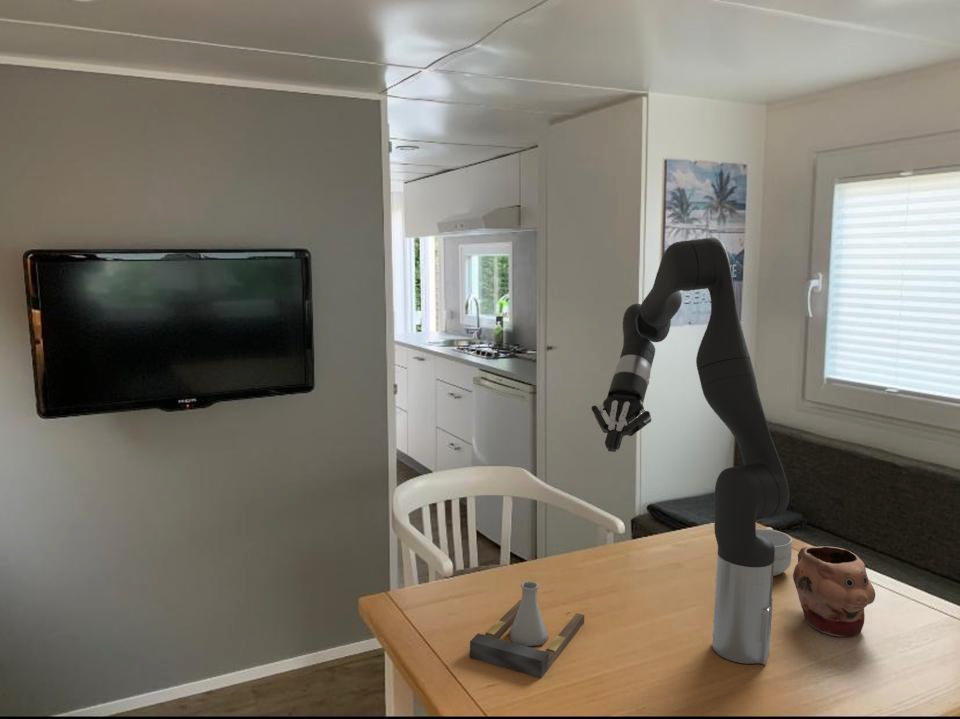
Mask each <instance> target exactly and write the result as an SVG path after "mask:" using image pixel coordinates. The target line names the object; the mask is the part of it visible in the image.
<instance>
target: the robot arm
mask: <svg viewBox="0 0 960 719" xmlns="http://www.w3.org/2000/svg"><path fill="white" fill-rule="evenodd" d="M705 289H707V290H708V291H709V292H708V293H709V296H710V308H711V309H710V315H709V320H708V324H707V326H706V328H705V331H704V334H703V336H702V339H701V341H700V344H699V347H698V349H697V355H696V361H695V362H696V363H695V365H696V369H697V373H698V376H699V382H700V386H701V390H702V394H703V397H704V398H705V400H706V402H707V403H708V405H709V406H710V408H711V409H712V410H713V412H714V414H716V415H717V416H718V418H719V419H720V420H721V421H722V423H723V424H724V425H725V426H726V427H727V428H728V430H729V431H730V432H731V433H732V435H733V437H734V439H735V441H736V443H737V446H738V448H739V451H740V454H741V458H742V462H743V465H738V466H731V467H728V468H724V469H723V470H722V471H721V472H720V473H719V474H718V477H717V479H716V482H715V487H714V526H713V528H714V535H715V540H716V544H717V555H716V556H717V558H716V572H715V573H716V575H715V576H716V577H715V590H714V591H715V592H714V593H715V594H714V609H713V625H712V626H713V628H712V649H713V651H714V652H716V654H717V655H719V656H720V657H722V658H724V659H726V660H728V661H731V662H734V663H735V662H736V663H740V664H745V665H746V664H748V665H749V664H750V665H751V664H760V665H761V664H762V665H766V664H767V661H768V657H769V653H770V649H771V646H770V645H771V634H772V633H771V631H772V618H773V605H774V604H773V601H774V598H773V582H774V576H773V571H774V557H775V548H774V545H773V543H772V542H771V541H770V540H768V539H766V538H764V537H762V536H760V535H757V534H756V529H757V528H756V527H757V525H756V520H757V521H758V520H762V519H770V518H775V517H778V516H780V515H782V514H784V513H785V512H786V510H787V509H788V506H789V504H790V503H789V502H790V488H789V484H788V479H787V475H786V473H785V470H784V467H783V464H782V462H781V460H780V457H779V454H778V452H777V448H776V446H775V444H774V440H773V437H772V434H771V432H770V429H769V425H768V421H767V418H766V415H765V411H764V408H763V405H762V404H763V403H762V401H761V398H760V392H759V389H758V384H757V381H756V375H755V372H754V367H753V364H752V359H751V356H750V352H749V349H748V346H747V343H746V339H745V335H744V330H743V326H742V322H741V319H740V318H741V317H740V314H739V310H738V305H737V304H738V303H737V299H736V292H735V286H734V280H733V274H732V267H731V263H730V259H729V255H728V252H727V249H726V246H725V244H724V243H723V241H722V240H721V239H719V238H716V237H706V238H698V239H690V240H681V241H675V242H673V243H671V244H670V245H669V246H668V247H667V248H666V250H665V251H664V253H663V256H662V257H661V260H660V263H659V267H658V269H657V273H656V276H655V279H654V281H653V286H652V288H651V290H650V291H649V292H648V294H647V295H646V296H645V298H644V299H643V301H642V303H633V304H631V305H629V306H628V308H626V310H625V311H624V313H623V316H622V318H623V319H622V333H623V345H622V350H621V353H620V357H619V359H618V362H617V364H616V367H615V369H614V373H613V376H612V379H611V382H610V386H609V388H608V389H609V390H608V393H607V397H606V399H604V400H603V403H602V404H601V405H599V406H597V405H592V406H591V412H592V414H593V417H594V419H595V420H596V421H597V423H598V426H599V428H600V430H601V431H602V433H604V434H606V437H605V441H604V445H605V448H606V449H607V451H608V452H612V453H616V452H617V450H618V451H619V450H620V448H621V444H622V441H623V438H624V437H625V436H628V437H632V436H633V435H635V434H636V433H638V431H640V430H642V429H643V428H644V427H646V426H647V425H648V424H649V423H651V422H652V416H651V415H652V414H651V413H650V411H649V410H645V408H644V401H645V398H646V394H647V390H648V387H649V384H650V378H651V370H652V367H653V366H652V365H653V362H654V358H655V354H656V347H655V345H654V343H660V342H663V341H664V340H665V339H666V338H667V337H668V335H669V333H670V329H671V324H672V319H673V317H674V316H675V315H676V314H677V313H678V312H679V310H680V308H681V306H682V302H683V300H682V299H683V297H682V292H681V291H684V292H688V291H689V292H690V291H696V290H698V291H699V290H705ZM605 412H606V415H607V416H608V419H609V422H608V423H607V422H606V420H605V418H604V415H605Z"/></svg>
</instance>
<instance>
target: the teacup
mask: <svg viewBox="0 0 960 719" xmlns="http://www.w3.org/2000/svg"><path fill="white" fill-rule="evenodd" d="M756 534H757V535H760V536H762V537H764V538H766V539H768V540H770V541H771V542H772V543H773V545H774V548H775V557H774V571H773V577H775V576H778V575H781V574H782V573H784V572H785V571H786V570H788V569H789V567H790V566H791V563H792V553H793V552H792V550H793V549H792V546H793V545H792V544H793V538H792V536H790V535H789V534H787V533H784V532H783V531H779V530H773V528H772V527H769V526H768V527H767V526H766V527H765V528H756Z"/></svg>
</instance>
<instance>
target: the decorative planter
mask: <svg viewBox="0 0 960 719" xmlns="http://www.w3.org/2000/svg"><path fill="white" fill-rule="evenodd" d="M866 569H867V568H866V565H865V563H864V561H863V560H862V559H860V557H859V556H858V555H857V554H855V553H853V552H851V551H850V550H848V549H845V548H841V547H835V546H826V545H825V546H810V547H809V546H803V547H801V548H800V549H799V551H798V553H797V563H796V565H795V566H794V569H793V573H792V578H793V583H794V586H795V589H796V592H797V595H798V600H799V603H800V606H801V609H802V612H803V617H804V620H805V621H806V622H807V623H808V625H809V626H810V627H813V628H814V629H815V630H817V631H819V632H821V633H823V634H826V635H831V636H835V637H852V636H857V635H860V633H861V632H862V630H863V627H864V624H865V617H866V616H865V615H866V614H865V608H866V607H867V606H868V605H872V604H873V603H874V601H875V599H876V591H875V588H874V585H873V584H872V583H871V581H870V580H869V577H868V574H867V571H866Z"/></svg>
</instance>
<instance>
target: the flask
mask: <svg viewBox="0 0 960 719" xmlns="http://www.w3.org/2000/svg"><path fill="white" fill-rule="evenodd" d="M520 588H521V590H522V591H521V599H520V600H521V603H520V606H519V609H518V612H517V615H516V617H515V620H514V622H513V625H512V626H511V627H510V630H509V632H508V636H509V638H510V642H512V643H516V644H520V645H523V646H527V647H532V646H543V645H544V644H545V643H546V642H547V641H548V639H549V637H550V636H549V634H548V631H547V628H546V626H545V622H544V620H543V616H542V613H541V610H540V607H539V601H538V593H537V592H538V589H539V584H538V582H536V581H530V580H527V581H522V582H521V584H520Z"/></svg>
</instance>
